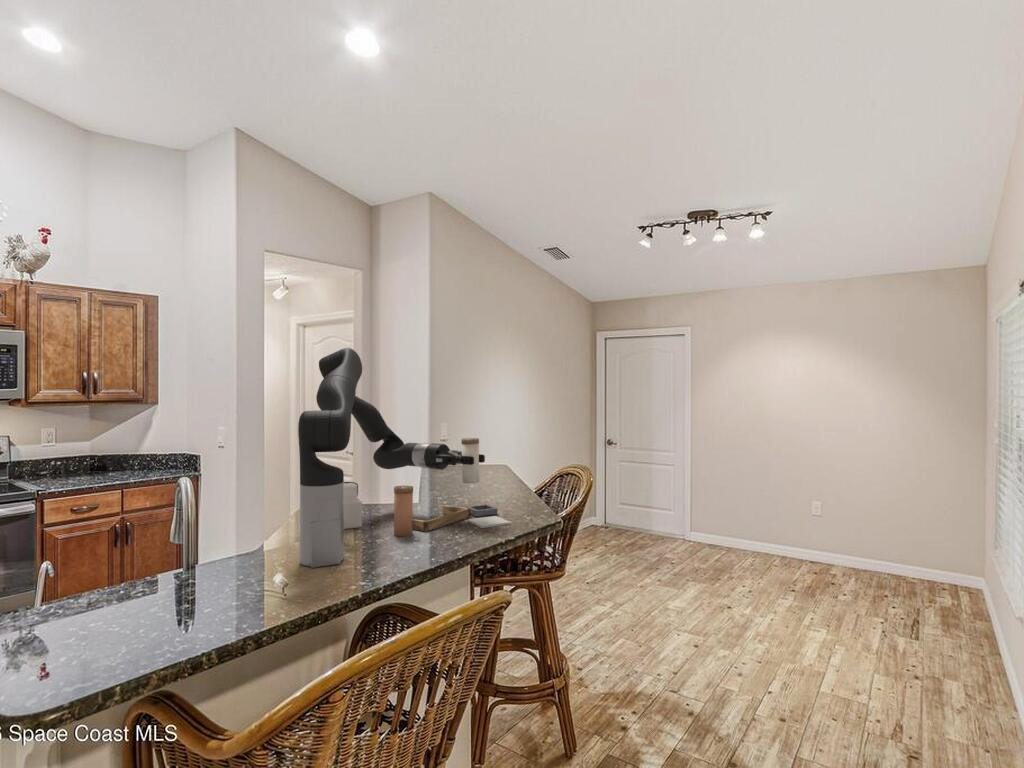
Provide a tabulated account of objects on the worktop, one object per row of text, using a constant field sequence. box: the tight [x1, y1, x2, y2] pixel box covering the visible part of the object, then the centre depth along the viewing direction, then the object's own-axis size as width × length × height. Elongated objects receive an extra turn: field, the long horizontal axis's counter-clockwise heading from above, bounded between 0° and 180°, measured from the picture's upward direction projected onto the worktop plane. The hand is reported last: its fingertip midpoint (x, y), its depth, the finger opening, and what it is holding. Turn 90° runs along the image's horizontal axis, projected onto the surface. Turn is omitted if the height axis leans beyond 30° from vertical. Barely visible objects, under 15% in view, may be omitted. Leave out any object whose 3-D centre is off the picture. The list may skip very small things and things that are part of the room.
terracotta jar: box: [393, 485, 414, 537], centre depth 151 cm, size 5×5×12 cm
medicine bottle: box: [343, 481, 363, 530], centre depth 160 cm, size 7×7×12 cm
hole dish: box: [465, 503, 498, 518], centre depth 174 cm, size 7×7×2 cm
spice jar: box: [461, 437, 480, 484], centre depth 164 cm, size 5×5×12 cm
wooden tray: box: [413, 504, 471, 532], centre depth 164 cm, size 10×20×2 cm, turn 149°
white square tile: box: [467, 515, 512, 529], centre depth 163 cm, size 9×9×1 cm
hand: (478, 459), depth 163 cm, fingers closed on spice jar, 4 cm apart
